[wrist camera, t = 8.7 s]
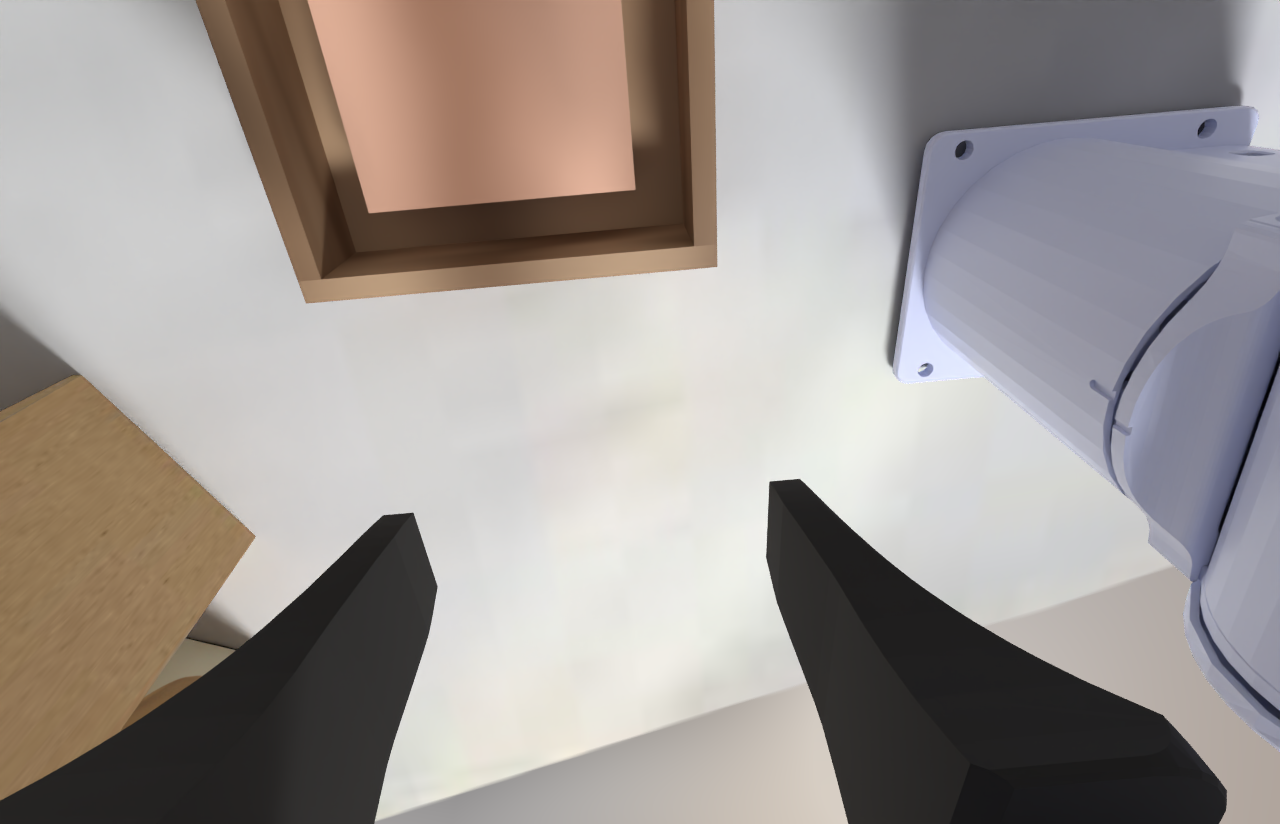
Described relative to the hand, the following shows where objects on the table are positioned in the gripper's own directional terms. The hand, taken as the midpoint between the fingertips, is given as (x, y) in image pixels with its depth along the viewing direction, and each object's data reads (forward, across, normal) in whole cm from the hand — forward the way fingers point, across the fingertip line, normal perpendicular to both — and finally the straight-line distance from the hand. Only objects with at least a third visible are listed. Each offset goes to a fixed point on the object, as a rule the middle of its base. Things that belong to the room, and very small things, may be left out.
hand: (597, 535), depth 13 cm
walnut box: (+9, +2, -8) cm, 12 cm away
